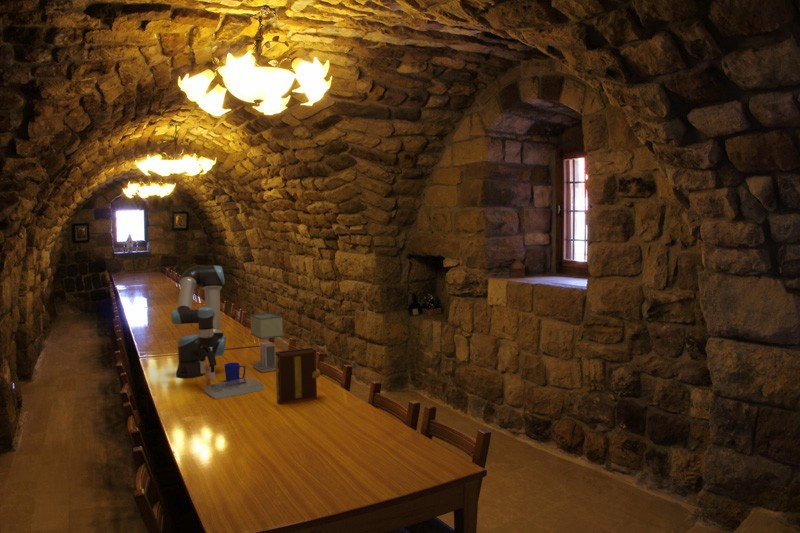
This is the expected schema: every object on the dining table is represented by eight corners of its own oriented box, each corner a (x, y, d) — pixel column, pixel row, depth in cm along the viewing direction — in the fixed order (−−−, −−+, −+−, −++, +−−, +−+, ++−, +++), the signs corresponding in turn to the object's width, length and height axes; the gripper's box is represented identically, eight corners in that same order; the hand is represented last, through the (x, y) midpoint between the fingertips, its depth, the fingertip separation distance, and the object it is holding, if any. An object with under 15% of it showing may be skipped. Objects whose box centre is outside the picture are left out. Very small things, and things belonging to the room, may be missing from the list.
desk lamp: (251, 367, 366) (249, 314, 364) (273, 364, 374) (272, 312, 371) (261, 373, 351) (259, 318, 348) (284, 370, 358) (282, 316, 356)
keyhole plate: (215, 399, 300) (215, 392, 300) (203, 392, 314) (203, 385, 313) (263, 389, 316) (263, 383, 316) (250, 383, 329) (250, 377, 329)
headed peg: (202, 388, 320) (201, 366, 319) (211, 387, 323) (210, 364, 322) (205, 390, 316) (204, 367, 315) (214, 389, 319) (213, 366, 318)
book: (280, 405, 288) (278, 354, 286) (275, 401, 296) (273, 351, 294) (323, 398, 298) (321, 349, 297) (317, 394, 306) (316, 346, 304)
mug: (242, 384, 328) (241, 366, 327) (222, 383, 330) (221, 365, 330) (249, 380, 336) (248, 362, 335) (229, 379, 338) (228, 362, 338)
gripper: (191, 334, 325) (193, 372, 327) (207, 340, 305) (209, 381, 307) (205, 332, 330) (206, 370, 331) (221, 338, 310) (223, 378, 311)
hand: (207, 375), depth 319 cm, fingers open, 13 cm apart
